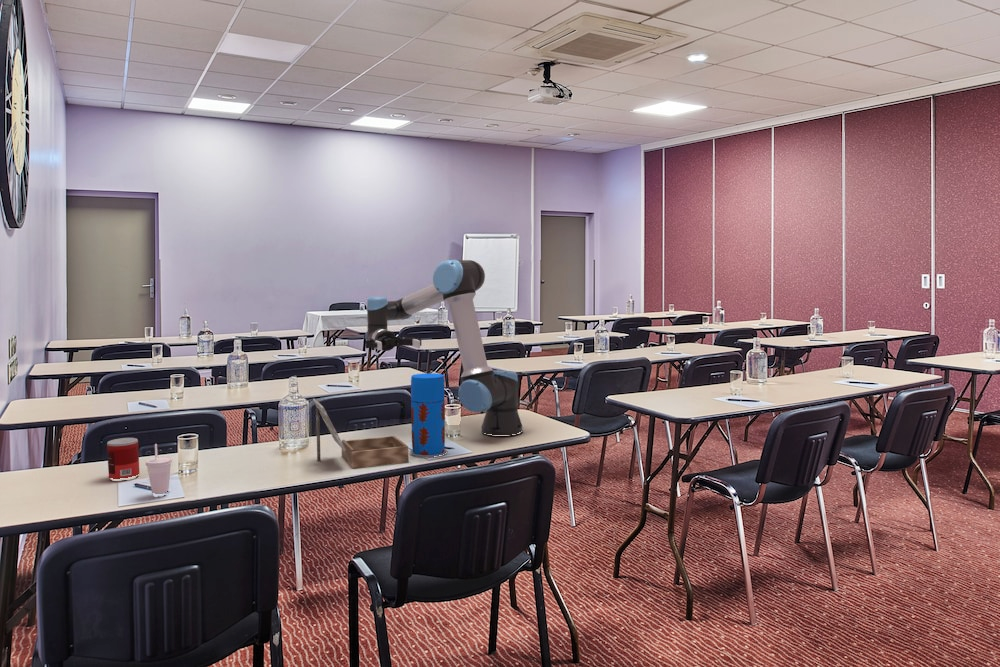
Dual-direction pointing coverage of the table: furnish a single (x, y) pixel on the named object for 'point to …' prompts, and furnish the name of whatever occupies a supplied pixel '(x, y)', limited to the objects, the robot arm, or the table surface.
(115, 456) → the canned food
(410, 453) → the disc
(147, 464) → the smoothie
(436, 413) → the thermos
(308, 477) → the table surface
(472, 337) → the robot arm
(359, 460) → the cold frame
